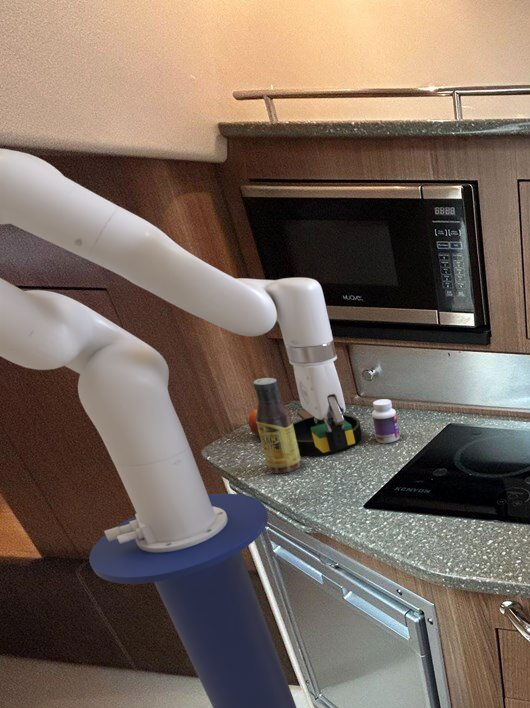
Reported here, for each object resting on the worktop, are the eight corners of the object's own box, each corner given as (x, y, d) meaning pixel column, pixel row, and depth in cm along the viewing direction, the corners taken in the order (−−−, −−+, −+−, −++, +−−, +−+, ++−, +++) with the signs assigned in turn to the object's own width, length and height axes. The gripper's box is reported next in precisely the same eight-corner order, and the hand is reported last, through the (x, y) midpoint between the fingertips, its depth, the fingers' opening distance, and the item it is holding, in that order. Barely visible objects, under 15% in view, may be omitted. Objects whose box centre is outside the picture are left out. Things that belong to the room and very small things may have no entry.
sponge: (323, 453, 93) (318, 433, 91) (315, 446, 96) (310, 427, 94) (355, 443, 97) (351, 424, 95) (347, 437, 100) (342, 418, 98)
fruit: (235, 433, 118) (246, 401, 118) (269, 439, 125) (279, 409, 125) (254, 442, 115) (265, 409, 115) (288, 447, 122) (298, 416, 122)
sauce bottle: (262, 471, 106) (235, 382, 97) (287, 459, 111) (264, 373, 102) (285, 477, 104) (260, 387, 95) (310, 464, 109) (288, 378, 100)
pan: (301, 463, 110) (297, 448, 108) (269, 432, 123) (265, 418, 121) (373, 442, 120) (370, 428, 118) (336, 415, 133) (334, 402, 132)
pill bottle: (402, 440, 121) (396, 403, 117) (379, 445, 119) (372, 407, 114) (396, 432, 125) (390, 396, 121) (374, 437, 123) (367, 400, 118)
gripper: (272, 346, 91) (297, 436, 99) (306, 367, 80) (331, 466, 89) (316, 339, 95) (336, 426, 104) (353, 358, 85) (372, 453, 94)
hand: (334, 443), depth 96 cm, fingers closed on sponge, 4 cm apart
